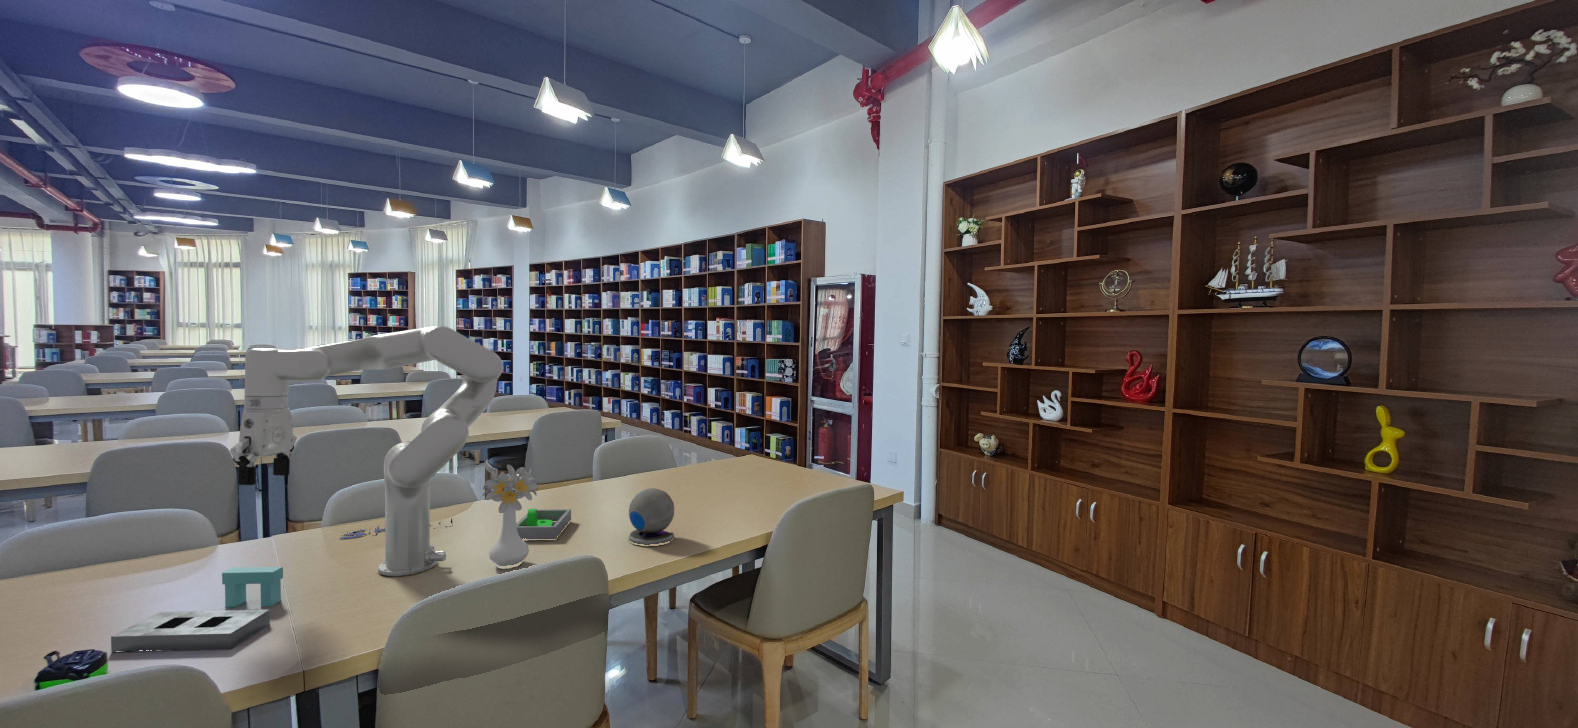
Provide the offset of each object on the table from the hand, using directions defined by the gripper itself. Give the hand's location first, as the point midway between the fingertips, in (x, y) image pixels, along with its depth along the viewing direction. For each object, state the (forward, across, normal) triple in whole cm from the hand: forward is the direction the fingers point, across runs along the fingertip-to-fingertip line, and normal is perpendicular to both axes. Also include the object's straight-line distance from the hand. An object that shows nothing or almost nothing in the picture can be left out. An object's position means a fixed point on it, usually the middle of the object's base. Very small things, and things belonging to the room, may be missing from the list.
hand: (264, 479), depth 139 cm
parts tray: (+24, +45, -47) cm, 69 cm away
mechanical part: (+24, +44, -47) cm, 69 cm away
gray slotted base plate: (+26, -20, -3) cm, 33 cm away
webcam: (+23, +37, -80) cm, 92 cm away
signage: (+25, +47, -4) cm, 53 cm away
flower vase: (+24, +17, -48) cm, 57 cm away
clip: (+26, -5, -2) cm, 26 cm away
